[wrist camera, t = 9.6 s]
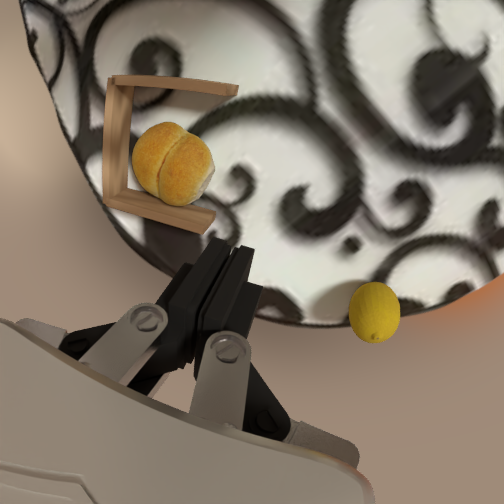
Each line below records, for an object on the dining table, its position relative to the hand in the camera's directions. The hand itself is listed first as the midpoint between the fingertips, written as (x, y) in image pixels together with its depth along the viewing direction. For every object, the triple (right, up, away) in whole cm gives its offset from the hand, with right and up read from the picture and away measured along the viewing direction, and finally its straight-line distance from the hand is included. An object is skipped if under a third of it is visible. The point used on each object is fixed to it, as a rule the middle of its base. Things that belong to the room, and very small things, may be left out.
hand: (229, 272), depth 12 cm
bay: (-7, +12, +17) cm, 22 cm away
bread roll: (-7, +10, +18) cm, 22 cm away
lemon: (+15, -3, +20) cm, 25 cm away
